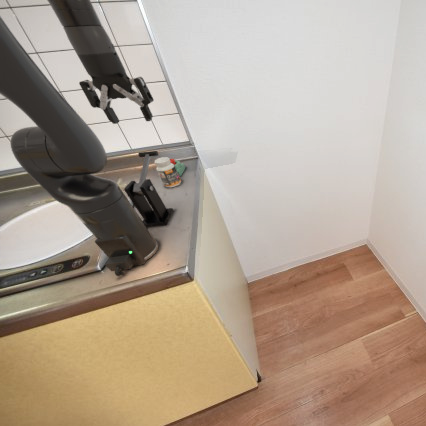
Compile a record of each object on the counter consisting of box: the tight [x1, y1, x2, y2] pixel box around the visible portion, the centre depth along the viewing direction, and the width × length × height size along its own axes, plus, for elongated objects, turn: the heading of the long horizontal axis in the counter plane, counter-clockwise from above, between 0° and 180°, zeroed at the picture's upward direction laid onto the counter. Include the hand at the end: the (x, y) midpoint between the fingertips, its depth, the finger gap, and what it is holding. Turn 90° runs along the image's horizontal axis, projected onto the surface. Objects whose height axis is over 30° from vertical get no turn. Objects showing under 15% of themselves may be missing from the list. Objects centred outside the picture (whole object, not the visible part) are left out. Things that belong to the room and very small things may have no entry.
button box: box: [174, 159, 186, 177], centre depth 95 cm, size 7×6×4 cm
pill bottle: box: [154, 156, 182, 188], centre depth 86 cm, size 6×6×10 cm
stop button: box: [169, 158, 176, 165], centre depth 93 cm, size 3×3×2 cm
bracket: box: [123, 178, 175, 228], centre depth 69 cm, size 7×7×13 cm
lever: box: [133, 150, 159, 196], centre depth 69 cm, size 15×5×2 cm, turn 9°
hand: (133, 121), depth 66 cm, fingers open, 8 cm apart
